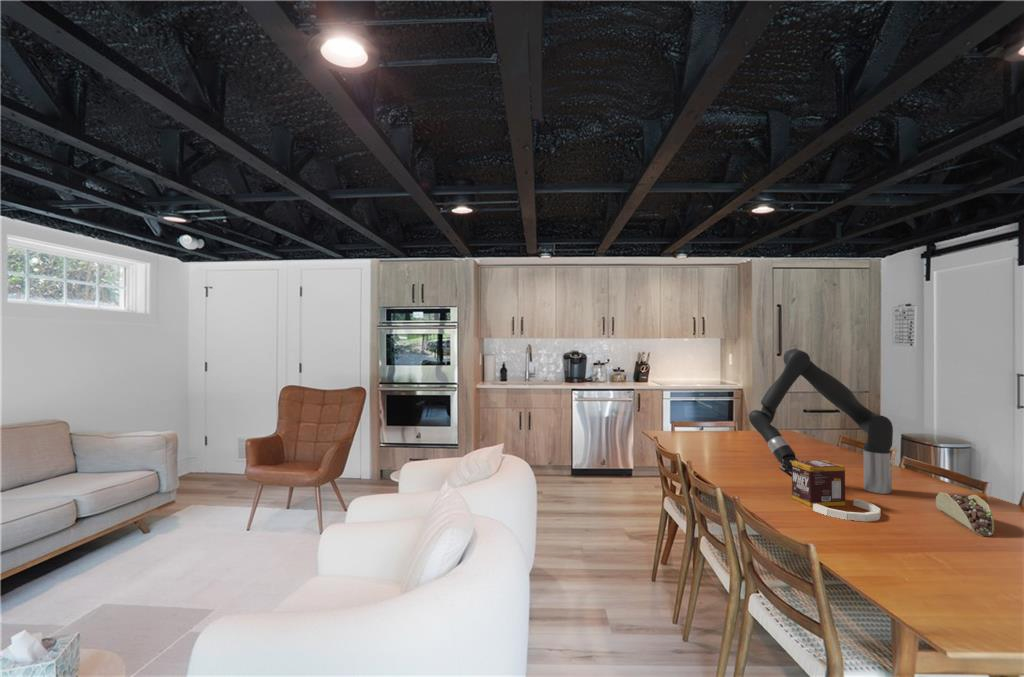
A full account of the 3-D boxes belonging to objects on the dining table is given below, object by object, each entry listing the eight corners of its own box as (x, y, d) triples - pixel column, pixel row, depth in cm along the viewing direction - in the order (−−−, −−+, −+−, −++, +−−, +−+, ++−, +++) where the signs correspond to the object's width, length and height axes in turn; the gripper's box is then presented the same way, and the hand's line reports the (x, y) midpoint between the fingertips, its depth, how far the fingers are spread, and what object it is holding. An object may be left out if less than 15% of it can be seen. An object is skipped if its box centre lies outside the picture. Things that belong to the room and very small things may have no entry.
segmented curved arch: (856, 505, 185) (856, 498, 185) (895, 517, 172) (895, 510, 172) (813, 510, 179) (812, 504, 179) (849, 524, 165) (849, 517, 165)
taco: (959, 512, 178) (959, 485, 178) (1005, 540, 153) (1004, 508, 153) (928, 509, 181) (927, 483, 181) (967, 535, 156) (966, 505, 156)
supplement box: (791, 498, 193) (791, 460, 193) (825, 497, 195) (825, 459, 195) (810, 507, 183) (809, 467, 183) (845, 505, 184) (845, 466, 185)
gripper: (773, 445, 202) (798, 481, 190) (797, 443, 206) (823, 479, 194) (764, 454, 207) (787, 490, 195) (787, 452, 211) (812, 488, 199)
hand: (805, 484), depth 195 cm, fingers closed
